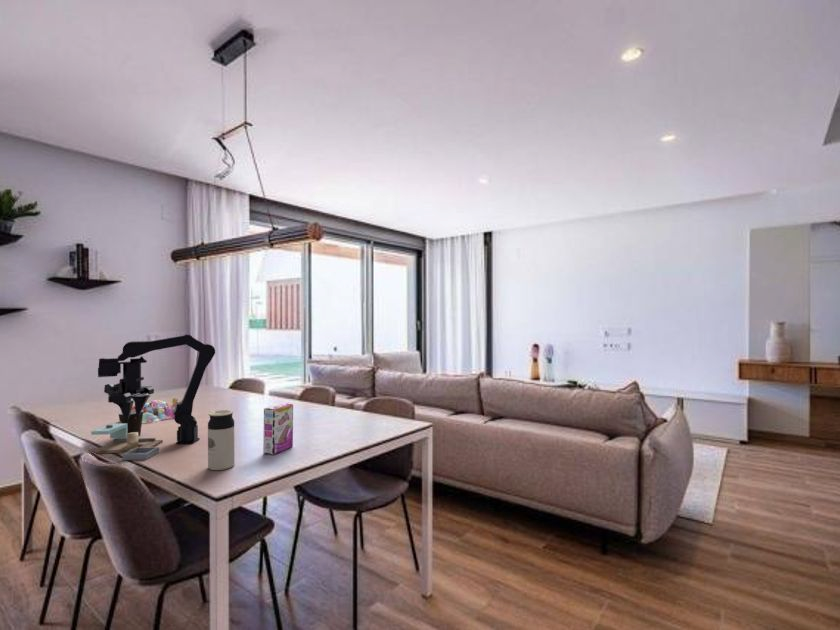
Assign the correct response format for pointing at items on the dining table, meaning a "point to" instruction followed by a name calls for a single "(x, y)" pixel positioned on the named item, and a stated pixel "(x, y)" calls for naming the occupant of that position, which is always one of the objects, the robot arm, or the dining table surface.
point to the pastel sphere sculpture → (157, 411)
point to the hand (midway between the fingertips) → (132, 417)
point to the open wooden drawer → (121, 445)
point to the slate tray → (140, 453)
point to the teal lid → (113, 430)
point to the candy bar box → (278, 428)
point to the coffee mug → (132, 421)
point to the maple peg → (132, 440)
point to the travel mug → (221, 440)
